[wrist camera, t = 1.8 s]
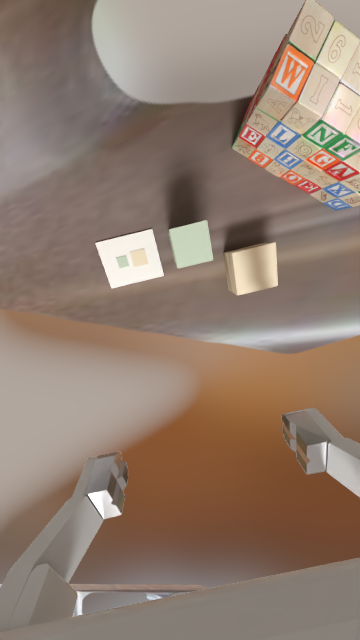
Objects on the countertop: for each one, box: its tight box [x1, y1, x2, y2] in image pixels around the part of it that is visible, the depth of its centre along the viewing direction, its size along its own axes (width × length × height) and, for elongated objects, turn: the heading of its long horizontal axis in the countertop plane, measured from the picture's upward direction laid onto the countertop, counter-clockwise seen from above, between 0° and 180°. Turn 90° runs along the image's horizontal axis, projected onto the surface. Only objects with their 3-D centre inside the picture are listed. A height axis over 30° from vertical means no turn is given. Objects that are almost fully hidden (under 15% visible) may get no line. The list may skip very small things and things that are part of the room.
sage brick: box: [169, 220, 213, 268], centre depth 29 cm, size 5×5×9 cm
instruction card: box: [96, 229, 164, 288], centre depth 34 cm, size 10×8×1 cm
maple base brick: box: [224, 242, 278, 296], centre depth 33 cm, size 7×7×5 cm
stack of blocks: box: [232, 0, 360, 211], centre depth 25 cm, size 21×6×12 cm, turn 67°
